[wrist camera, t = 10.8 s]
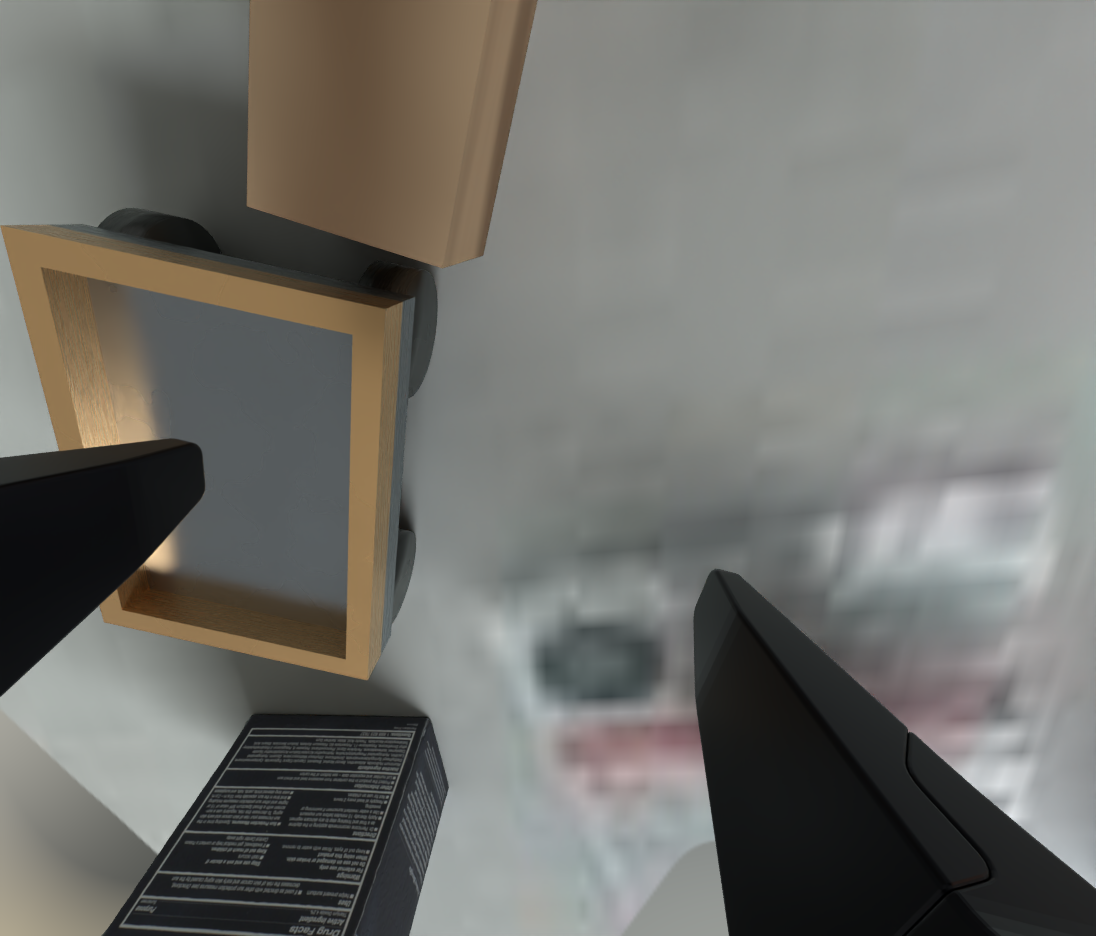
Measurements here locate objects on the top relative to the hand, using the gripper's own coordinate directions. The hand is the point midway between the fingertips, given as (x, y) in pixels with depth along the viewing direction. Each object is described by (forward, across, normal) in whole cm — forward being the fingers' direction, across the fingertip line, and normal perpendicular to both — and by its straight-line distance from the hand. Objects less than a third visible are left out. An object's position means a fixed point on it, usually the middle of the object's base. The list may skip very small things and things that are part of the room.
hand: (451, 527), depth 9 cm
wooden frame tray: (+11, +8, +4) cm, 14 cm away
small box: (+12, +6, +24) cm, 27 cm away
